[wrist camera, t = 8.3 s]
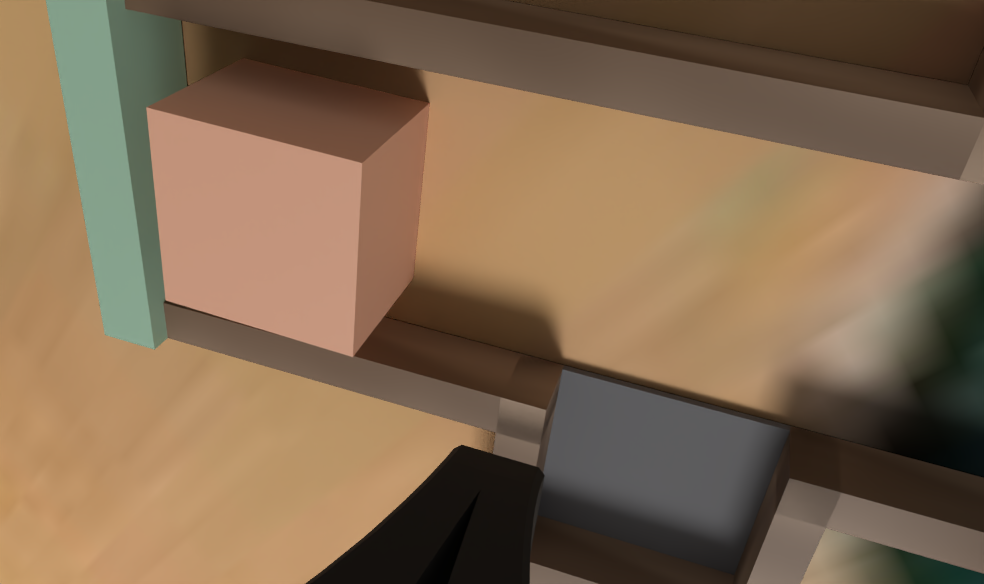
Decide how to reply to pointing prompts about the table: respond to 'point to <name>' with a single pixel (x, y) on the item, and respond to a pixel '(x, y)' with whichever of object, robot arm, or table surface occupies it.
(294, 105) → the block
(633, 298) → the table surface
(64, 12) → the trap lane
